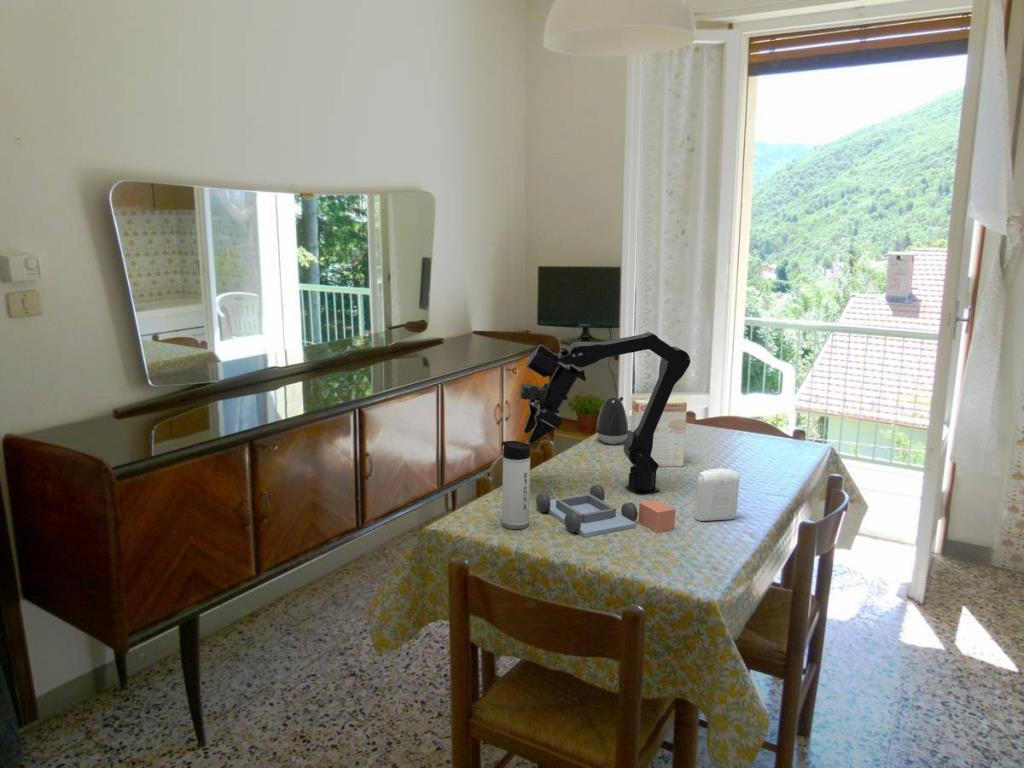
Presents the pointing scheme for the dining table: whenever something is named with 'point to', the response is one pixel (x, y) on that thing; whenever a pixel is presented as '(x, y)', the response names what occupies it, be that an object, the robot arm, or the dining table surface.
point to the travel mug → (516, 485)
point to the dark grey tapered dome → (612, 421)
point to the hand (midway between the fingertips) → (527, 437)
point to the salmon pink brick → (656, 516)
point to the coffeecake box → (665, 430)
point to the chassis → (588, 513)
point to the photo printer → (716, 495)
